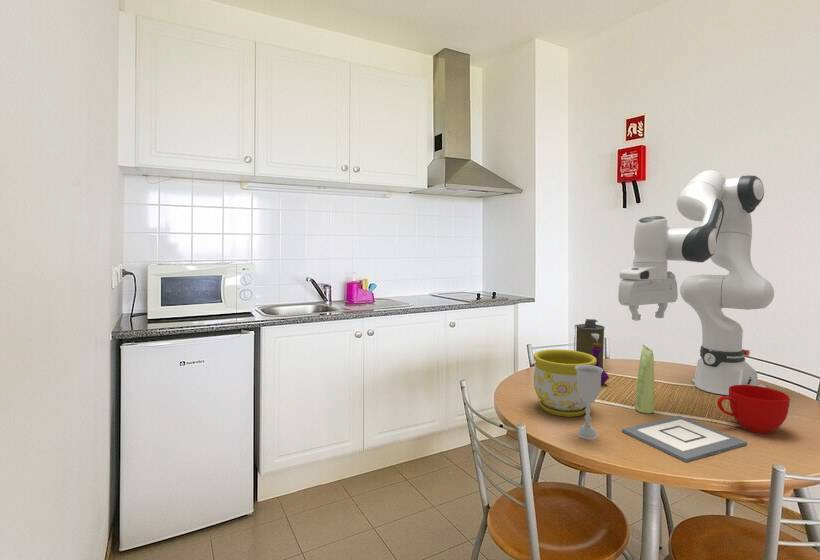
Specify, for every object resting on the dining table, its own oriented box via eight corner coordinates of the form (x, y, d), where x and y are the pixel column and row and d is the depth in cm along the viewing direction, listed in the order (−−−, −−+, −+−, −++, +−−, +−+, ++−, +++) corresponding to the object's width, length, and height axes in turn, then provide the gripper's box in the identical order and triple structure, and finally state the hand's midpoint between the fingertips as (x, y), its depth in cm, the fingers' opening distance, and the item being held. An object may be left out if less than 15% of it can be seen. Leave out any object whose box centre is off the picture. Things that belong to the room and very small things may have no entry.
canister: (600, 366, 180) (602, 317, 178) (605, 373, 170) (607, 322, 168) (572, 365, 182) (573, 317, 181) (575, 372, 172) (576, 321, 171)
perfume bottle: (609, 386, 155) (610, 336, 154) (587, 386, 155) (588, 336, 154) (600, 379, 163) (601, 331, 161) (579, 380, 163) (580, 331, 161)
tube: (659, 412, 132) (661, 347, 130) (650, 416, 129) (652, 350, 127) (640, 406, 137) (642, 344, 135) (631, 410, 134) (633, 346, 132)
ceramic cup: (702, 418, 127) (703, 384, 126) (762, 418, 126) (764, 384, 125) (733, 438, 114) (735, 401, 113) (801, 439, 113) (803, 401, 112)
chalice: (568, 430, 120) (570, 365, 119) (592, 428, 121) (594, 364, 119) (581, 442, 113) (582, 373, 111) (606, 440, 113) (608, 372, 112)
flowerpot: (571, 396, 146) (573, 347, 145) (608, 417, 129) (610, 361, 127) (522, 401, 142) (522, 351, 140) (553, 423, 124) (554, 366, 123)
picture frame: (679, 418, 127) (679, 414, 127) (746, 444, 110) (746, 440, 110) (621, 431, 119) (621, 427, 119) (685, 462, 102) (685, 457, 102)
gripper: (665, 270, 136) (663, 315, 137) (615, 272, 128) (613, 319, 130) (684, 271, 130) (682, 318, 131) (633, 274, 123) (631, 323, 124)
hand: (648, 319), depth 130 cm, fingers open, 8 cm apart
